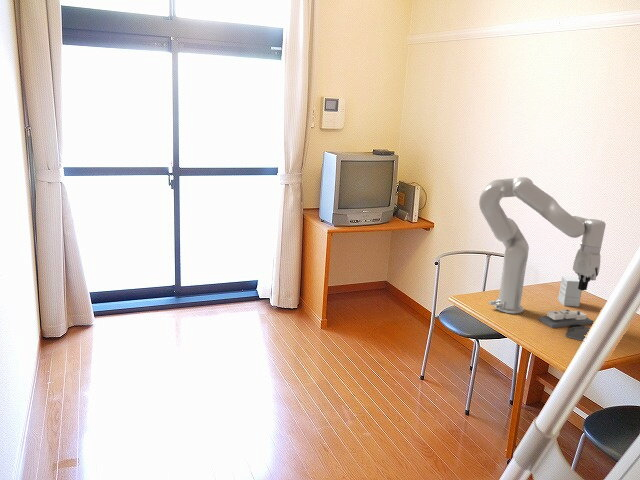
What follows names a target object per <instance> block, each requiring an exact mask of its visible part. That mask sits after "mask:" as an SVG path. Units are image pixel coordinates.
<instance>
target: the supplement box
mask: <svg viewBox="0 0 640 480" xmlns="http://www.w3.org/2000/svg"><path fill="white" fill-rule="evenodd" d="M578 278H579V277H578V276H573V275H561V279H560V287H559V291H558V292H559V293H558V298H557V300H558V302H560V304H561V305H562V306H563V307H565V306H566V307H580V302H581V299H582V298H581V297H582V292H583V290H580V289H578V286H579V281H580V280H579V279H578Z"/></svg>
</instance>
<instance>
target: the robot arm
mask: <svg viewBox="0 0 640 480" xmlns="http://www.w3.org/2000/svg"><path fill="white" fill-rule="evenodd" d="M513 197H514V198H515V197H516V198H517V199H519V200H520V201H521V202H523V203H524V204H525V205H527V206H528V207H530V208H531V209H532V210H533V211H535V212H537V213H538V214H539V215H540V216H541V217H542V218H544V219H545V220H546V221H548V222H549V223H550V224H551V225H552V226H554V227H555V228H557V229H558V230H560V232H562V233H563V234H564V235H566V236H568V237H569V238H573V239H574V238H575V239H577V238H579V237H581V242H580V243H579V246H580V247H579V249H578V250H577V253H576V254H575V257H574V261H573V265H572V270H573V272H574V273H575V274H576V275H577V277H578V279H579V280H580V281H579V286H578V289H580V290H582V291H587V290H588V285H589V283H590V281H596V280H597V277H598V276H599V274H600V273H599V272H600V268H601V248H602V245H603V240H604V237H605V236H604V234H605V231H606V222H605V221H603V220H602V219H601V220H600V219H596V218H595V219H593V218H585V217H582V216H576V215H572V214H570V213H569V212H568V211H566V210H565V209H564V208H563V207H562V205H560V204H559V203H558V202H557V200H556V199H555V198H554V197H553V196H551V195H550V194H548V193H547V192H545V191H544V190H543V189H541V188H540V187H538V186H537V185H536V184H534V182H533V180H532V179H530V178H529V177H525V176H523V177H521V176H520V177H513V178H502V179H501V178H500V179H495V180H492V181H490V182H489V183H488V184H487V185H486V186H485V188H484V189H483V191H482V193H481V195H480V197H479V199H478V200H479V203H478V205H479V210H480V212H481V214H482V215H483V217H484V220H485V221H486V223H487V225H488V226H489V228H490V230H491V232H492V233H493V236H494V237H495V239H497V240H498V241H499V242H501V243H502V244H503V246H504V247H505V251H504V256H503V263H502V264H503V266H502V271H501V281H500V286H499V287H500V288H499V293H498V297H496V299H495V300H489V301H488V305H490V306H494V308H495V309H496V310H497V311H500V312H502V313H507V314H511V315H512V314H516V315H517V314H521V313H523V312H524V307H523V306H522V305H521V302H522V298H523V297H522V296H523V290H524V282H525V277H526V276H525V275H526V270H527V265H528V263H527V262H528V258H529V252H530V251H529V250H530V247H529V244H528V241H527V238H525V236H524V234H523V232H522V231H521V230H520V228H519V226H518V224H517V223H516V222H515V220H514V219H512V218H510V217H508V216H507V214H506V212H505V211H504V208H502V206H501V204H500V202H501V201H502V199H503V198H513Z"/></svg>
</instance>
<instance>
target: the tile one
mask: <svg viewBox="0 0 640 480" xmlns="http://www.w3.org/2000/svg"><path fill="white" fill-rule="evenodd" d="M546 316H548V317H550V318H552V319H554V320H559V319H564V314H562V313H560V312H559V310H550V311H549V310H547V313H546Z"/></svg>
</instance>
